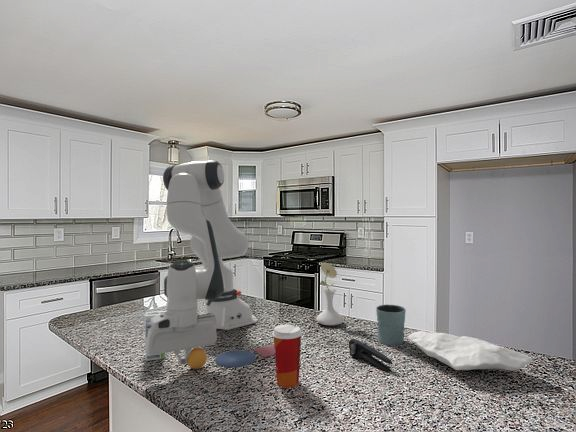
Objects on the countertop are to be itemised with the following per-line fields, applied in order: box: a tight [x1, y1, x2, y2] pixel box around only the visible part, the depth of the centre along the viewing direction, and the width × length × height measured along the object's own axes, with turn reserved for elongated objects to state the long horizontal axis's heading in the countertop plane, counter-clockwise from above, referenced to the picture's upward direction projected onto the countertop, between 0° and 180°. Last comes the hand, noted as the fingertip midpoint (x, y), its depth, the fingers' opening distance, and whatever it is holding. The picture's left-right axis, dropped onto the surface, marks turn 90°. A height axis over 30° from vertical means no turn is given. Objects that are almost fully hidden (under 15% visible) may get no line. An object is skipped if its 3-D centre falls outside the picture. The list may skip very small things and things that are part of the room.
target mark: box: [214, 349, 257, 368], centre depth 120 cm, size 13×13×1 cm
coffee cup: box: [271, 324, 303, 389], centre depth 102 cm, size 8×8×15 cm
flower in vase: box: [315, 262, 345, 326], centre depth 155 cm, size 13×11×25 cm
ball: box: [186, 347, 208, 370], centre depth 113 cm, size 6×6×6 cm
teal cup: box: [375, 304, 406, 347], centre depth 133 cm, size 10×10×12 cm
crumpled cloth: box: [406, 330, 533, 372], centre depth 112 cm, size 24×35×9 cm
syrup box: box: [144, 310, 166, 362], centre depth 122 cm, size 6×6×14 cm
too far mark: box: [253, 344, 275, 358], centre depth 126 cm, size 8×8×1 cm
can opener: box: [348, 338, 393, 373], centre depth 116 cm, size 18×7×6 cm, turn 29°
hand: (182, 363), depth 111 cm, fingers closed
